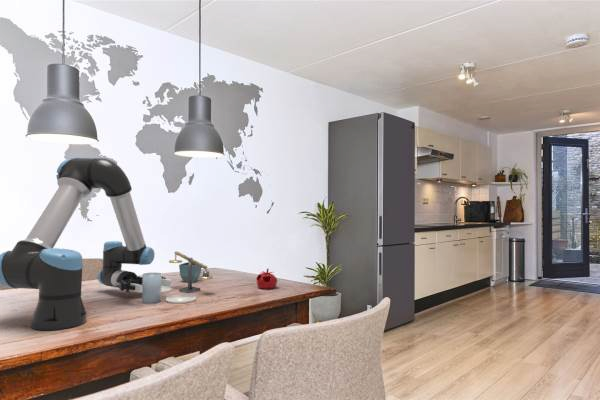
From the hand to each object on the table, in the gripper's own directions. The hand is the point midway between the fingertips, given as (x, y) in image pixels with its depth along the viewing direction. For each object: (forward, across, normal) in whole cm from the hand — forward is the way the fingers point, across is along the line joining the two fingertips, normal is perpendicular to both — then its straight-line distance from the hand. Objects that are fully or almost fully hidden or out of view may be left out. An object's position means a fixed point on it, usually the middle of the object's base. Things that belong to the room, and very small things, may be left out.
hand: (156, 286), depth 157 cm
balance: (-7, -23, -6) cm, 25 cm away
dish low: (+4, -9, -6) cm, 12 cm away
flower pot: (-25, -39, -7) cm, 47 cm away
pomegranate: (+15, -51, -7) cm, 53 cm away
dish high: (-18, -14, -6) cm, 24 cm away
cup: (-3, 0, -6) cm, 7 cm away
